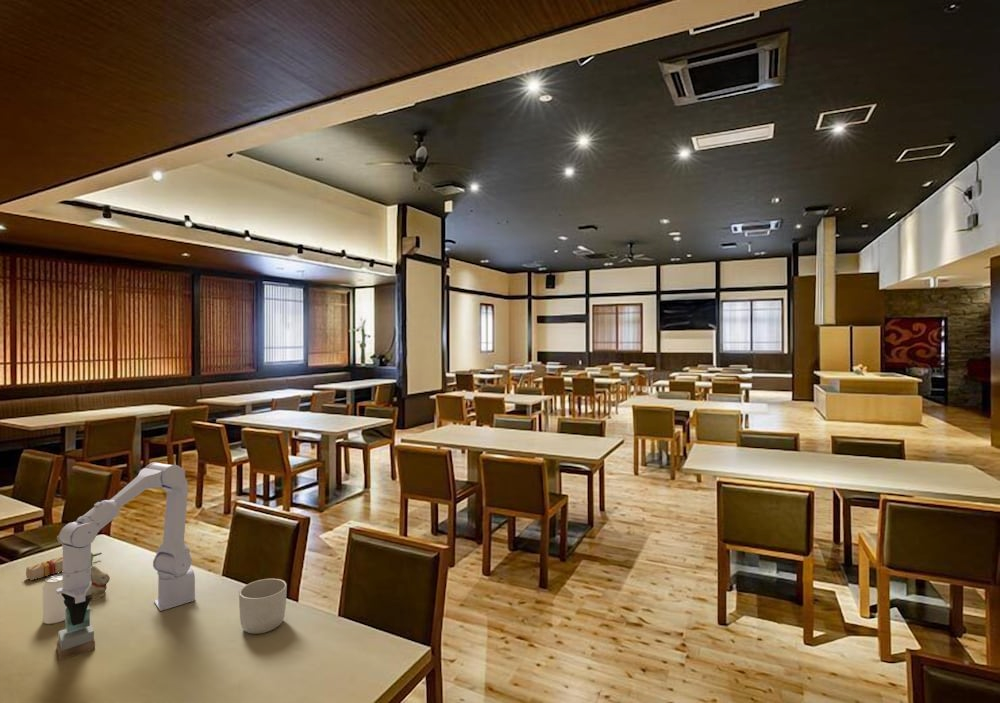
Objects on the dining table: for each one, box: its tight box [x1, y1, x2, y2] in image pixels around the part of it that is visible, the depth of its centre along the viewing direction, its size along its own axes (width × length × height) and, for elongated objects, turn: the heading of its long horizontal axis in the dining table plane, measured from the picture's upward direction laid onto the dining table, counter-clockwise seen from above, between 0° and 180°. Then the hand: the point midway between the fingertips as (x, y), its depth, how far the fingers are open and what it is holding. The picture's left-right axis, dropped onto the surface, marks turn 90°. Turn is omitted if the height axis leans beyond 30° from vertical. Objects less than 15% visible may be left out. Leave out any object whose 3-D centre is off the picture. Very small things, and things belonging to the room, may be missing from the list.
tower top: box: [58, 622, 95, 651], centre depth 134 cm, size 6×6×2 cm
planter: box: [238, 578, 288, 635], centre depth 145 cm, size 12×12×11 cm
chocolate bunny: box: [86, 565, 111, 601], centre depth 160 cm, size 6×8×10 cm
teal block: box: [64, 604, 91, 632], centre depth 134 cm, size 4×4×4 cm
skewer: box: [25, 552, 103, 581], centre depth 179 cm, size 21×6×5 cm, turn 149°
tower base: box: [56, 639, 96, 661], centre depth 133 cm, size 7×7×2 cm
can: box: [42, 573, 67, 625], centre depth 147 cm, size 6×6×12 cm
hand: (76, 620), depth 133 cm, fingers closed on teal block, 4 cm apart
